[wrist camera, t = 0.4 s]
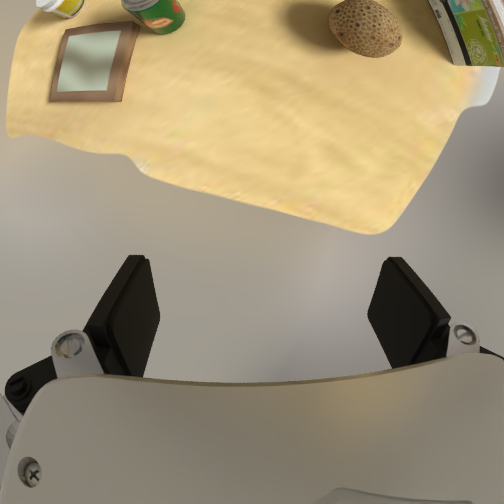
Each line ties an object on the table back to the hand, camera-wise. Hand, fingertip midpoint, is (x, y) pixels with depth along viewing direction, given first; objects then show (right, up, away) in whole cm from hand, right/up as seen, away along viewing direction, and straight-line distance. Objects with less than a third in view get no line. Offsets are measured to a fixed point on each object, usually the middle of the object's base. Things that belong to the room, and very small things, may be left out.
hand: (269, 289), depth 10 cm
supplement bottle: (-29, +40, +11) cm, 50 cm away
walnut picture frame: (-23, +29, +17) cm, 41 cm away
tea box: (+35, +40, +13) cm, 55 cm away
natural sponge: (+13, +32, +17) cm, 38 cm away
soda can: (-12, +33, +15) cm, 38 cm away
